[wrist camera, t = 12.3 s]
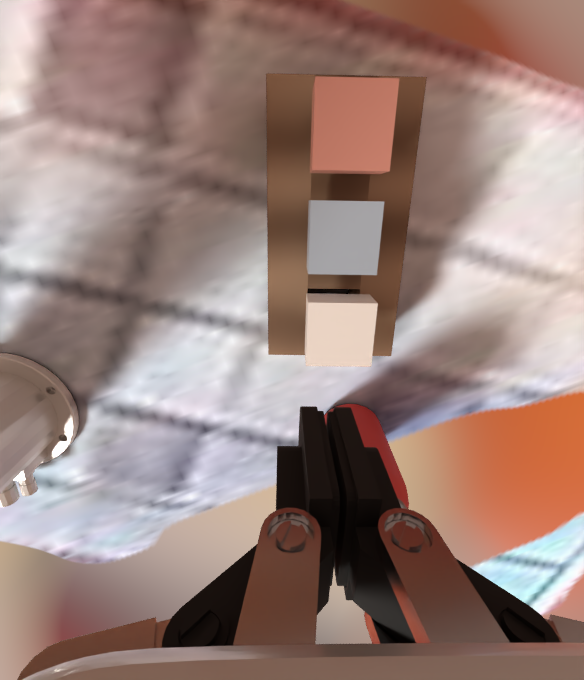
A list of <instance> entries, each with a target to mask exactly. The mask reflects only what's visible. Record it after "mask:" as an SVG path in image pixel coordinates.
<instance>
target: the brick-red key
mask: <svg viewBox="0 0 584 680" xmlns="http://www.w3.org/2000/svg"><path fill="white" fill-rule="evenodd" d="M398 87H399V78H365V77H319V76H315V80H314V85H313V91H312V122H311V154H310V173H331V174H383V173H386V172H389V171H390V164H391V154H392V145H393V135H394V126H395V116H396V106H397V97H398Z"/></svg>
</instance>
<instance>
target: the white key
mask: <svg viewBox="0 0 584 680" xmlns="http://www.w3.org/2000/svg"><path fill="white" fill-rule="evenodd" d="M377 307H378V303H377V302H376V301H375V300H374V299H373V297H372V296H371V295H370V294H335V293H324V294H310V293H306V325H305V360H306V366H359V367H371V363H372V354H373V344H374V335H375V326H376V316H377Z"/></svg>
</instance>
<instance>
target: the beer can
mask: <svg viewBox="0 0 584 680" xmlns="http://www.w3.org/2000/svg"><path fill="white" fill-rule="evenodd" d="M336 407H351V409H352V412H353V415H354V418H355V421H356V424H357V427H358V429H359V432H360V435H361V438H362V441H363V444H364V447H376V448H377V449H378V450H379V453H380V455H381V458H382V460H383V463H384V465H385V468H386V470H387V473H388V475H389V478H390V480H391V483H392V485H393V488H394V490H395V493H396V495H397V498H398V501H399V503H400V506H401V508H405V509H408V506H409V502H408V494H407V489H406V485H405V483H404V480H403V478H402V476H401V473H400V471H399V469H398V466H397V463H396V461H395V459H394V456H393V454H392V451H391V449H390V446H389V444H388V441H387V439H386V437H385V434H384V432H383V429H382V427H381V424H380V422H379V420H378V418H377V417H376V415H375V414H374V413H373V412H372V411H370V410H369V409H368V408H366V407H364V406H361V405H358V404H344V405H340V406H336ZM329 411H333V409H331V410H329ZM324 417H325V422H327V413H326V414H325V415H324Z"/></svg>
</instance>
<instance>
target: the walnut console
mask: <svg viewBox="0 0 584 680" xmlns="http://www.w3.org/2000/svg"><path fill="white" fill-rule="evenodd" d="M315 76H319V77H365V78H399V87H398V97H397V106H396V116H395V126H394V135H393V145H392V154H391V164H390V171H389V172H386V173H383V174H331V173H310V154H311V122H312V91H313V85H314V80H315ZM426 78H427V77H399V76H354V75H308V74H266V92H267V218H268V344H269V354H271V355H305V325H306V293H307V292H308V288H312V289H349V293H348V294H370V295H371V296H372V297H373V299H374V300H375V301H376V302H377V303H378V307H377V316H376V326H375V335H374V344H373V354H372V356H391V352H392V345H393V337H394V329H395V321H396V313H397V305H398V297H399V290H400V282H401V274H402V266H403V258H404V250H405V243H406V235H407V227H408V219H409V211H410V203H411V196H412V188H413V180H414V172H415V164H416V156H417V149H418V141H419V133H420V125H421V117H422V109H423V102H424V94H425V86H426ZM309 200H325V201H381V202H384V210H383V220H382V230H381V239H380V249H379V259H378V269H377V275H331V274H308V271H307V238H308V205H309Z"/></svg>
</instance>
